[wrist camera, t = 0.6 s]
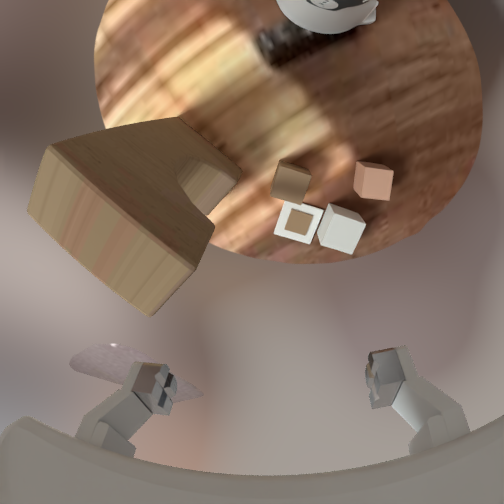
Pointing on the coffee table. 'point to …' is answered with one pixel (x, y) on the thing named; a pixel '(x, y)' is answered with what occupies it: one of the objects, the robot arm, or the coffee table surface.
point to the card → (298, 221)
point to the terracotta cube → (373, 180)
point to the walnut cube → (290, 182)
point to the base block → (340, 229)
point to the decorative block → (134, 204)
